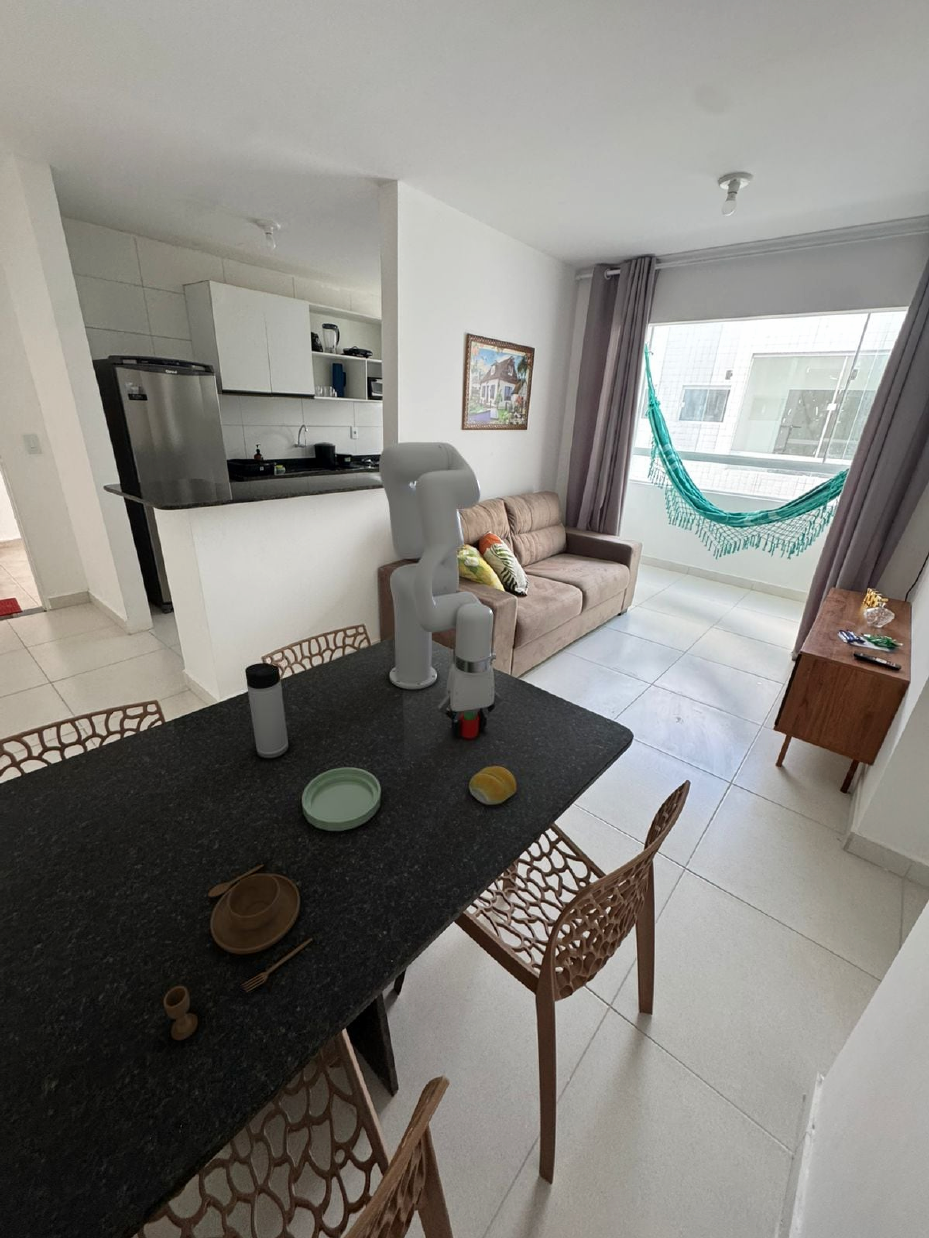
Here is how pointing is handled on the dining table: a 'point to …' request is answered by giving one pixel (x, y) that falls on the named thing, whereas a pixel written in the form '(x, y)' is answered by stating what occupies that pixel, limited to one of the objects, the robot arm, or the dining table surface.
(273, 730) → the travel mug
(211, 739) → the dining table surface
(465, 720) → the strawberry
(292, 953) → the place setting
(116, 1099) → the dining table surface
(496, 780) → the bread roll
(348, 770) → the dish
